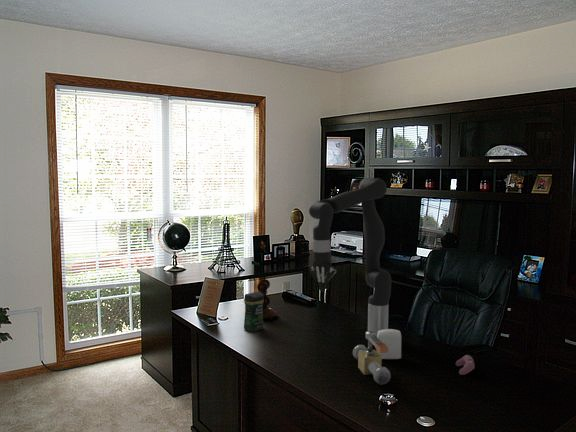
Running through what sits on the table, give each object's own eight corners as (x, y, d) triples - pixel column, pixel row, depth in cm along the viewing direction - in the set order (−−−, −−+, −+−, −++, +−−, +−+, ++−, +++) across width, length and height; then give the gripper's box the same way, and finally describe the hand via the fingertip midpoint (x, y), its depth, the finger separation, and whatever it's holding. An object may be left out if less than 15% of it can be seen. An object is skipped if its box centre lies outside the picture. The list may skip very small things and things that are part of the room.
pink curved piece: (469, 380, 186) (478, 365, 185) (458, 374, 186) (467, 359, 185) (464, 369, 195) (473, 355, 194) (454, 363, 196) (463, 349, 195)
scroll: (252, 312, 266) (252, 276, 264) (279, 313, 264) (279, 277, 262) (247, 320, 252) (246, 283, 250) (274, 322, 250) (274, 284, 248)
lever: (364, 337, 191) (364, 331, 190) (373, 336, 191) (373, 330, 191) (379, 353, 174) (379, 346, 174) (388, 352, 175) (388, 346, 175)
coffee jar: (252, 333, 232) (252, 295, 230) (241, 329, 237) (241, 293, 236) (266, 328, 239) (266, 292, 237) (255, 325, 245) (255, 289, 243)
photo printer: (377, 359, 201) (378, 331, 200) (375, 355, 205) (376, 327, 204) (402, 360, 201) (402, 331, 200) (399, 356, 205) (400, 327, 204)
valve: (351, 360, 201) (352, 330, 199) (367, 358, 202) (368, 329, 201) (373, 385, 177) (374, 352, 176) (391, 383, 179) (392, 351, 177)
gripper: (340, 249, 201) (340, 290, 203) (311, 247, 208) (312, 286, 209) (332, 252, 195) (333, 294, 196) (303, 250, 201) (304, 291, 203)
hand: (322, 290), depth 203 cm, fingers closed
